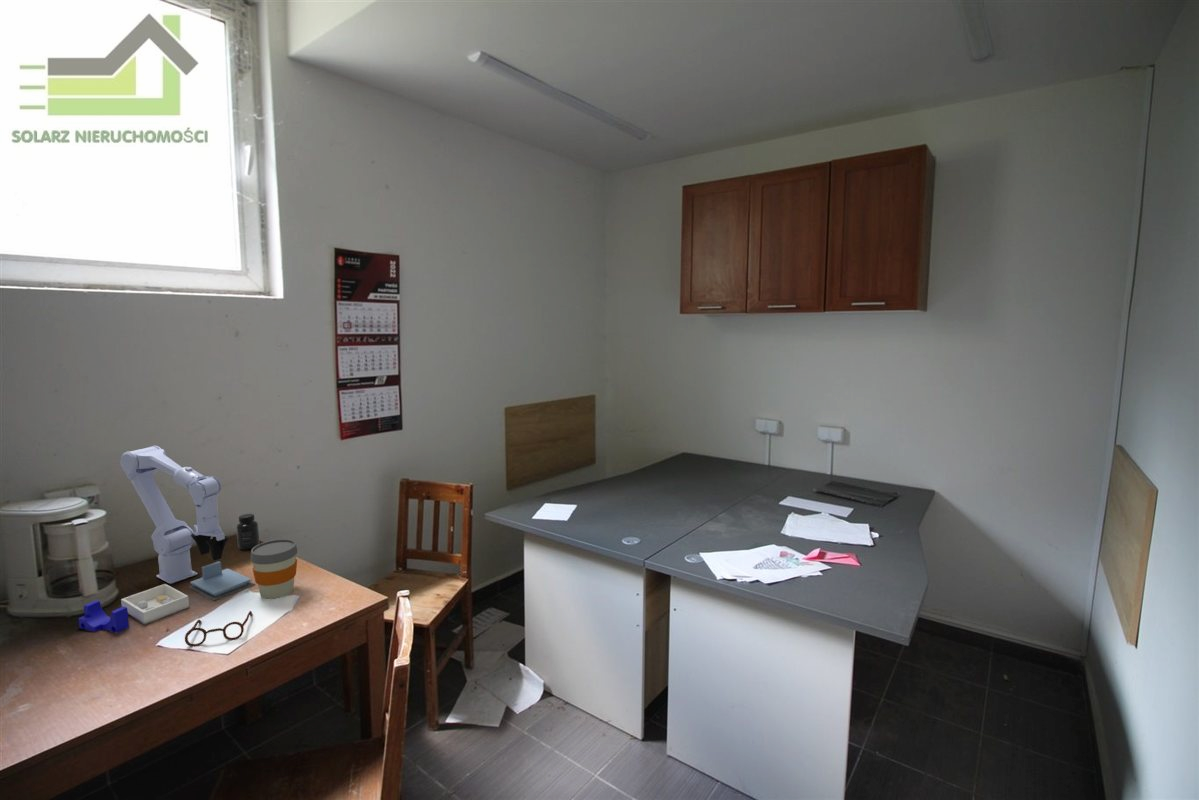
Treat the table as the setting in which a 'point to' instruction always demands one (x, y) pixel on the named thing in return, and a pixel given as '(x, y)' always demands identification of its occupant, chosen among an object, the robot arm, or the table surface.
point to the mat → (221, 594)
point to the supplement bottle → (247, 532)
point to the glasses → (216, 630)
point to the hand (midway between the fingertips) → (211, 556)
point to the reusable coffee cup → (274, 567)
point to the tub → (155, 603)
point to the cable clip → (103, 618)
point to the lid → (219, 579)
